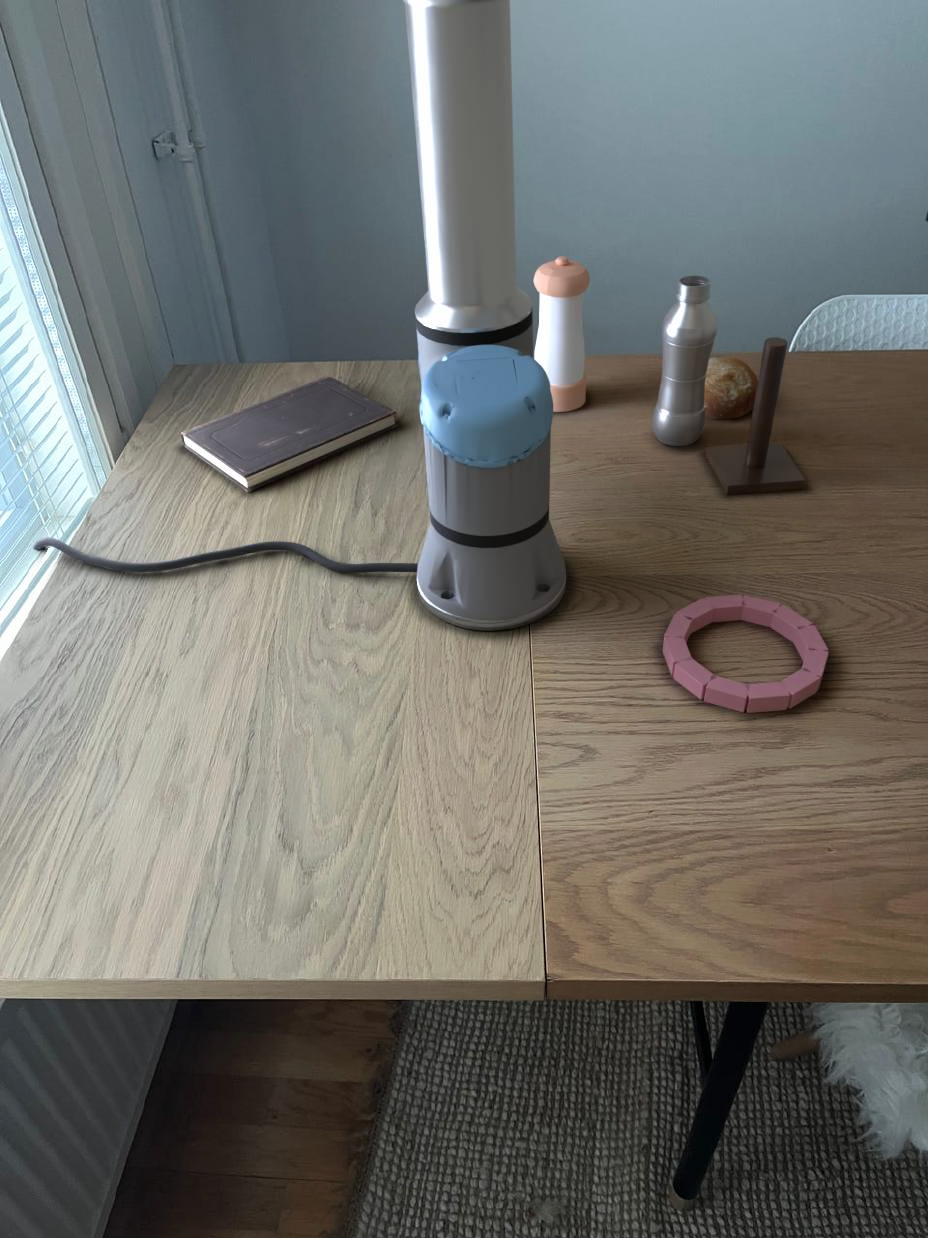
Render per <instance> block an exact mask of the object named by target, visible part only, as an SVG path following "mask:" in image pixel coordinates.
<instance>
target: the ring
mask: <svg viewBox="0 0 928 1238" xmlns="http://www.w3.org/2000/svg"><path fill="white" fill-rule="evenodd" d="M673 614H674V615H673V616H672V618H671V620H670V622H669V625H668V627H667V629H666V631H665V633H664V634H663V643H662V654H663V657H664V659H665V662H666V665H667V667H668V671H669V673H670V676H671V677H672V678H673V680H675V681H676V682H677V683H678V684H680V685H681V686H682V687H684V689H686V690H687V691H688V692H690V693H691V694H692V695H693V696H695V697H697V698H698V700H703V702H705V703H707V704H712V705H714V706H715V705H716V706H719V707H723V708H726V709H729V710H733V711H736V712H739V713H744V712H746V713H747V714H752V713H765V712H778V711H779V712H780V711H787V709H792V708H794V707H795V706H797V705H799V704H800V703H801V702H804V701H805V700H807V699H808V698H810V697H812V696H813V695H815V694H816V693H817V692H818V691H819V689H820V686H821V682H822V679H823V675H824V672H825V668H826V665H827V661H828V657H829V648H828V645H826V642H825V641H824V639H823V637H822V635H821V634H820V632H819V630H818V628H817V627H816V625H815V624H813V622H812V621H810V620H808V619H807V618H805V617H803V616H802V615H801V614H799V613H798V612H796V611H794V610H793V609H791V608H790V607H788V606H786V605H785V604H782V605H781V603H780V602H776V601H772V600H767V599H764V598H759V597H754V596H750V595H746V594H744V595H742V594H740V593H739V594H729V595H715V596H705V598H704V597H701V598H700V599H698V600H697V601H694V602H692V603H690V604H688V605H686V606H685V607H682V608H680V609H679V610H677V611H676V613H673ZM736 621H743V622H748V623H752V624H755V625H759V626H764V627H767V628H770V629H772V630H773V631H774V632H777V633H778V634H779V635H780V636H782V637H784V638H786V639H787V640H788V641H790V642H791V643H793V645H794V646H795V649H796V650H797V652H798V654H799V656H800V658H801V660H802V662H803V663H802V666H801V668H800V669H799V670H797V671H795V672H793V673H792V674H790V675H788V676H787V677H785V678H784V679H781V680H780V681H770V682H759V683H745V682H740V681H737V680H733V679H730V678H727V677H723V676H719V675H715V674H714V673H712V672H711V671H710V670H708V668H706V667H704V666H703V665H702V664H701V663H699V662H698V661H697V660H695V659H694V658H693V657H692V655H691V652H690V650H689V647H688V645H687V642H688V640H689V638H690V636H691V634H693V633H695V632H696V631H698V630H701V629H702V628H704V627H706V626H707V625H709V624H710V625H711V623H722V622H723V623H725V622H736Z"/></svg>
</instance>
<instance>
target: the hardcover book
mask: <svg viewBox="0 0 928 1238" xmlns="http://www.w3.org/2000/svg"><path fill="white" fill-rule="evenodd" d="M394 415H397V410H395V409H393V408H391V407H390V406H387V405H385V404H383V403H381V402H379V401H378V400H376V399H374V398H373V397H370V396H368V395H366V394H364V393H363V392H361V391H359V390H356V389H355V388H353V387H351V386H349V385H347V384H345V383H344V382H341V381H339V380H338V379H336V378H334V377H332V376H330V375H325V376H323V377H320V378H318V379H316V380H313V381H310V382H307V383H304V384H303V385H300V386H297V387H294V388H292V389H290V390H287V391H284V392H282V393H279V394H277V395H275V396H272V397H269V398H267V399H264V400H261V401H259V402H256V403H253V404H252V405H248V406H246V407H243V408H240V409H238V410H236V411H233V412H230V413H227V414H225V415H223V416H220V417H218V418H214V419H213V420H210V421H208V422H205V423H202V424H199V425H197V426H194V427H192V428H190V429H187V430H184V431H181V433H180V439H181V442H182V445H183V446H184V448H186V450H188V451H189V452H190V453H192V454H193V455H194V456H196V457H198V458H199V459H201V461H203V462H204V463H206V464H207V465H209V466H210V467H212V468H213V469H214V470H215V471H217V472H218V473H220V474H221V475H223V476H224V477H226V478H227V479H228V480H230V481H231V482H233V483H234V484H235V485H236V486H238V487H239V488H241V489H242V490H244V491H245V492H247V493H250V492H252V491H255V490H257V489H259V488H262V487H264V486H266V485H269V484H270V483H273V482H275V481H277V480H280V479H282V478H284V477H287V476H289V475H291V474H293V473H295V472H298V471H300V470H302V469H305V468H307V467H309V466H311V465H313V464H316V463H318V462H321V461H323V460H325V459H327V458H330V457H332V456H335V455H337V454H339V453H341V452H343V451H345V450H348V449H350V448H353V447H354V446H357V445H359V444H361V443H364V442H366V441H368V440H370V439H371V440H372V439H373V438H375V437H377V436H380V435H382V434H384V433H386V432H388V431H391V430H393V429H395V428H398V427H399V424H397V423H395V419H396V418H395V417H394Z"/></svg>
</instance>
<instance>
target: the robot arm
mask: <svg viewBox="0 0 928 1238" xmlns="http://www.w3.org/2000/svg"><path fill="white" fill-rule="evenodd" d="M402 2H403V3H404V11H405V25H406V37H407V48H408V61H409V73H410V84H411V96H412V97H411V98H412V108H413V120H414V121H413V122H414V133H415V145H416V156H417V157H416V158H417V168H418V169H417V170H418V181H419V192H420V203H421V204H420V205H421V216H422V217H421V218H422V229H423V240H424V252H425V265H426V276H427V278H426V279H427V289H428V290H427V292H426V293H425V294H424V295H423V296H422V297H421V298H420V300H419V301H418V302H417V303H416V305H415V307H414V317H415V328H416V339H417V349H418V350H417V351H418V362H417V363H418V372H419V378H420V385H421V391H420V392H421V396H420V399H419V415H420V422H421V425H422V427H423V428H422V429H423V442H424V454H425V455H424V456H425V468H426V481H427V482H426V484H427V494H428V507H429V518H430V519H429V520H430V521H429V522H430V523H429V527H428V530H427V533H426V536H425V539H424V543H423V547H422V550H421V553H420V556H419V560H418V563H417V562H416V563H415V562H368V563H367V562H366V563H344V562H339V561H334V560H332V559H330V558H328V557H326V556H324V555H322V554H320V553H319V552H317V551H315V550H314V549H312V548H310V547H309V546H306V545H304V544H301V543H297V542H292V541H282V540H281V541H280V540H279V541H277V540H276V541H275V540H274V541H262V542H255V543H250V544H246V545H241V546H237V547H232V548H226V549H221V550H220V549H219V550H214V551H208V552H204V553H203V552H202V553H199V554H194V555H190V556H186V557H182V558H177V559H172V560H167V561H160V562H145V563H144V562H141V563H140V562H124V561H117V560H112V559H108V558H103V557H99V556H94V555H92V554H87V553H84V552H81V551H79V550H77V549H75V548H73V547H72V546H70V545H68V544H67V543H65V542H63V541H61V540H59V539H57V538H53V537H50V536H49V537H41V538H40V539H38V540H37V541H36V542H35V543H34V545H33V547H32V549H33V550H35V551H40V550H42V549H44V548H45V547H52V548H54V549H56V550H59V551H60V552H62V553H64V554H66V555H67V556H69V557H71V558H73V559H75V560H77V561H78V562H79V561H80V562H82V563H85V564H88V565H92V566H97V567H101V568H104V569H109V570H115V571H119V572H127V573H129V572H130V573H155V572H164V571H171V570H175V569H181V568H185V567H189V566H190V567H191V566H194V565H198V564H203V563H208V562H213V561H219V560H224V559H225V560H226V559H230V558H235V557H241V556H244V555H249V554H253V553H260V552H267V551H289V552H295V553H298V554H300V555H303V556H305V557H307V558H309V559H310V560H312V561H314V562H316V563H317V564H319V565H320V566H322V567H324V568H325V569H329V570H332V571H334V572H340V573H347V574H364V573H365V574H366V573H416V582H417V583H416V585H417V593H418V596H419V599H420V601H421V603H422V604H423V605H424V607H425V608H426V609H427V610H428V611H429V612H430V613H431V614H432V615H434V616H435V617H436V618H438V619H440V620H442V621H444V622H446V623H448V624H450V625H453V626H456V627H460V628H464V629H469V630H476V631H502V630H509V629H516V628H519V627H523V626H526V625H529V624H532V623H534V622H536V621H538V620H540V619H542V618H543V617H545V616H547V615H548V614H550V613H551V612H552V611H553V610H554V609H555V608H556V607H557V606H558V605H559V604H560V602H561V600H562V599H563V596H564V595H565V591H566V588H567V571H566V563H565V559H564V556H563V552H562V550H561V548H560V545H559V541H558V539H557V536H556V534H555V531H554V528H553V526H552V523H551V520H550V497H551V496H550V495H551V493H550V492H551V444H552V443H551V436H552V435H551V433H552V430H551V429H552V424H553V417H554V413H555V412H554V411H553V399H552V394H551V387H550V382H549V378H548V376H547V374H546V372H545V370H544V369H543V367H542V366H541V365H540V364H539V363H538V362H537V361H536V360H535V358H534V323H533V322H534V318H533V317H534V315H533V299H532V298H531V297H530V295H528V294H527V293H526V292H525V291H524V290H522V289H521V287H519V286H518V284H517V252H516V251H517V250H516V249H517V248H516V247H517V245H516V209H515V207H516V206H515V205H516V204H515V165H514V163H515V160H514V159H515V158H514V125H513V124H514V121H513V120H514V119H513V118H514V117H513V78H512V76H513V75H512V73H513V71H512V32H511V31H512V30H511V0H402ZM925 221H926V222H927V223H928V211H927V213H926V216H925Z"/></svg>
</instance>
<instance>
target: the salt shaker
mask: <svg viewBox="0 0 928 1238" xmlns="http://www.w3.org/2000/svg"><path fill="white" fill-rule="evenodd" d="M590 281H591V278H590V272H589V271H588V269H587V268H586V267H585V265H584V264H582V263H580V262H578V261H575V260H571V259H569V258H568V257H567V256H563V255H562V256H561V255H560V256H558V257H557V258H556V259H555V260H550V261H548V262H545V263H543V264H541V265H540V266H539V267H538V268H537V269H536V270H535V273H534V277H533V284H534V287H535V289H536V291H537V292H538V293H539V316H538V317H539V319H538V320H539V321H538V322H539V323H538V329H537V335H536V341H535V346H534V359H535V360H536V361H537V362H538V363H539V364H540V365H541V366H542V367H543V369H544V370H545V372H546V374H547V376H548V378H549V382H550V387H551V394H552V399H553V411H554V412H553V413H565V412H570V411H571V412H572V411H574V410H577V409H579V408H581V407H582V406H584V404H585V403H586V395H587V394H586V393H587V392H586V391H587V375H586V373H585V371H584V370H585V357H586V345H585V337H584V336H585V335H584V328H583V303H584V302H583V301H584V300H583V299H584V292H586V290H587V289H588V287H589V285H590Z"/></svg>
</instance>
